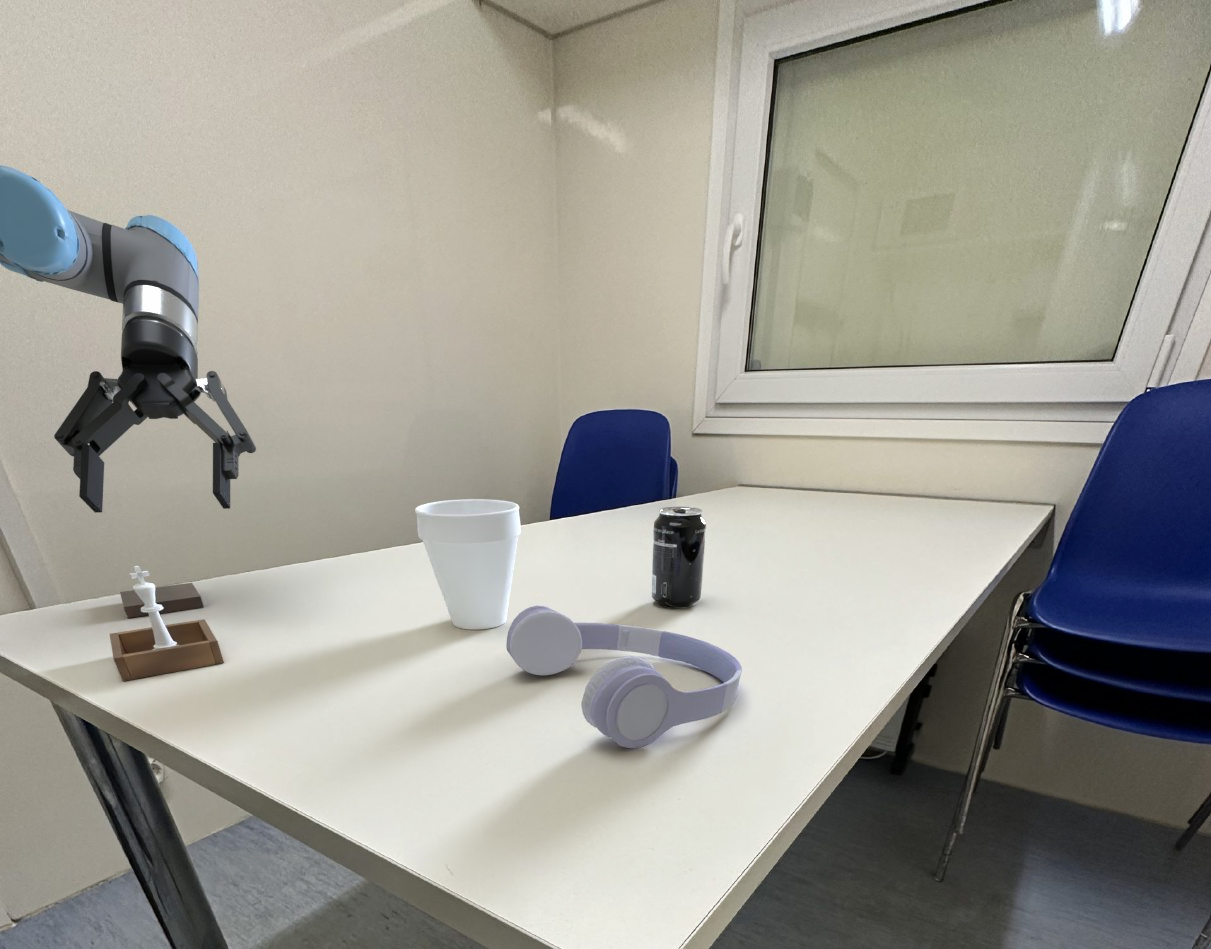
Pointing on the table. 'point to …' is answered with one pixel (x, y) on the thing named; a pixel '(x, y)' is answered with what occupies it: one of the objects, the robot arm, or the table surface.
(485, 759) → the table surface
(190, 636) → the oak box
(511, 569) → the cup
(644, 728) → the headphones
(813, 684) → the table surface
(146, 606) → the chess piece
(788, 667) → the table surface
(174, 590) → the walnut stand
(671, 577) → the beverage can
